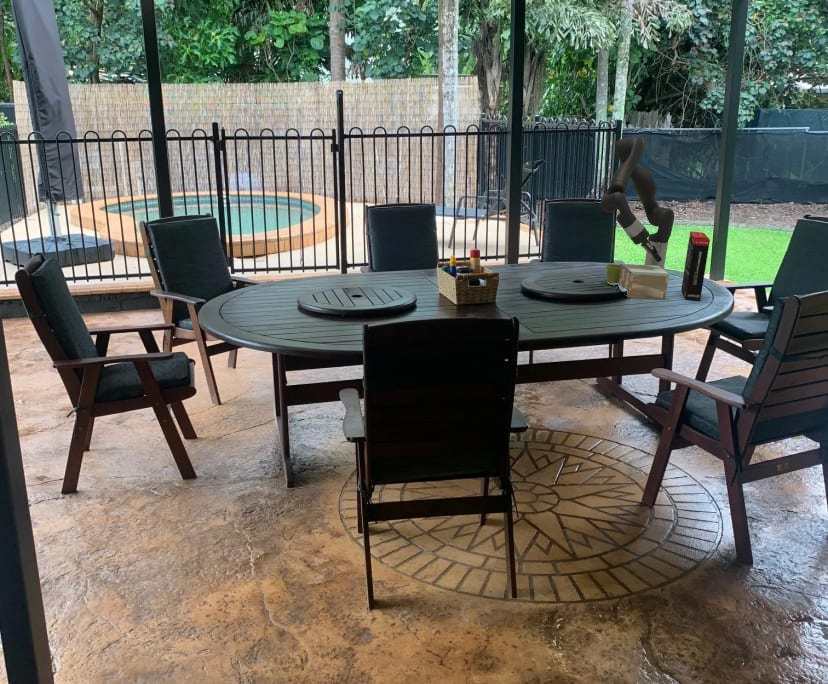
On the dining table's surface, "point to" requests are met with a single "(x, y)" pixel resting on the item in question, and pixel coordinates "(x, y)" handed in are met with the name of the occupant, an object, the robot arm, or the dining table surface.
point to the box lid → (644, 269)
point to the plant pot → (613, 273)
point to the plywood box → (643, 285)
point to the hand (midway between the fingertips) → (659, 260)
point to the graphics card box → (695, 265)
